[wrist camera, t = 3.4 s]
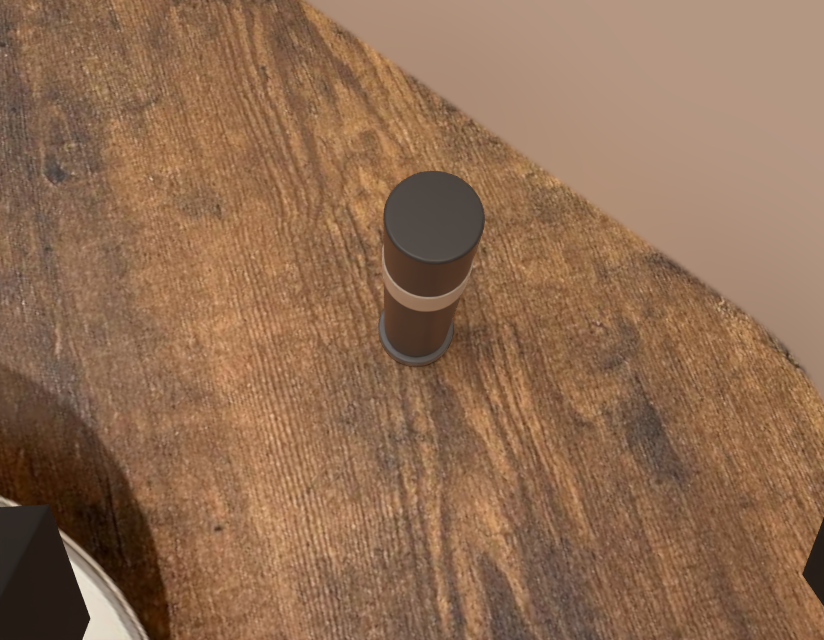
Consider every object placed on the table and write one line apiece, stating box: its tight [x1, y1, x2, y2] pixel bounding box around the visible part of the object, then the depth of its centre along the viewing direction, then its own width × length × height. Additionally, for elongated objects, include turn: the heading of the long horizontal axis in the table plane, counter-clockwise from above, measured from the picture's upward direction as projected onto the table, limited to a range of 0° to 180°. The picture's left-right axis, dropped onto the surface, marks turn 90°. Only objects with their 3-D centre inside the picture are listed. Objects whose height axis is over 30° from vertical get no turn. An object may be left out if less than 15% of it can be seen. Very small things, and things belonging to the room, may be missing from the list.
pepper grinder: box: [379, 171, 485, 366], centre depth 20 cm, size 3×3×10 cm
